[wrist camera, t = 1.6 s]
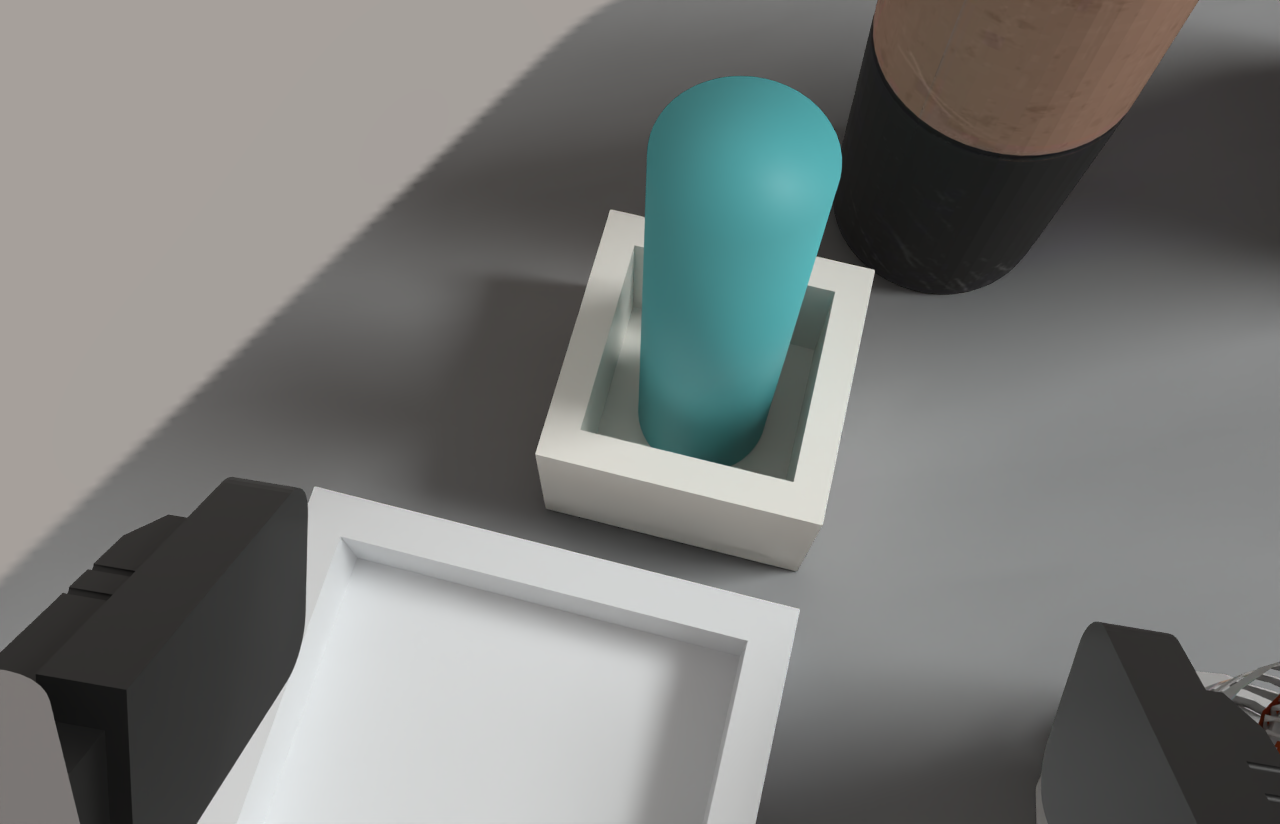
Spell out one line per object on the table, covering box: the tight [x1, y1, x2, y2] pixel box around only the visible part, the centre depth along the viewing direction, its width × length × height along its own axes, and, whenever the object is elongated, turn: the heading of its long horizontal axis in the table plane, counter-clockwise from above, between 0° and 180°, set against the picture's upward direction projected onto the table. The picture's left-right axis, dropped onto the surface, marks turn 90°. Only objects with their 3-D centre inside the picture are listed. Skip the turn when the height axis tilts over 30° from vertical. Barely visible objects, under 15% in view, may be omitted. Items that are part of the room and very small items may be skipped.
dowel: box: [638, 76, 842, 466], centre depth 31 cm, size 4×4×14 cm
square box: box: [535, 209, 875, 572], centre depth 36 cm, size 8×8×5 cm
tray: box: [197, 486, 800, 824], centre depth 33 cm, size 12×14×4 cm
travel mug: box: [833, 0, 1199, 294], centre depth 32 cm, size 8×8×20 cm
